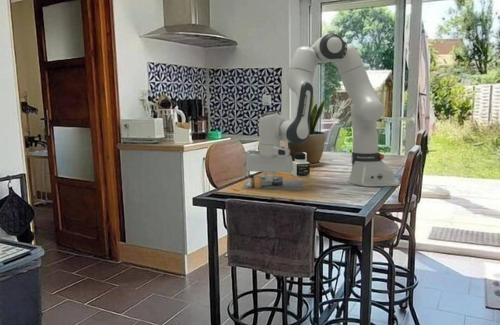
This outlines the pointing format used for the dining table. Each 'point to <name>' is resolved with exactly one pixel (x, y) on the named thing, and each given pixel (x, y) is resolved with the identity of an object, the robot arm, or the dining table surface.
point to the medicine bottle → (301, 165)
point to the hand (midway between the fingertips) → (269, 181)
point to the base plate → (285, 186)
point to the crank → (276, 180)
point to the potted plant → (311, 139)
